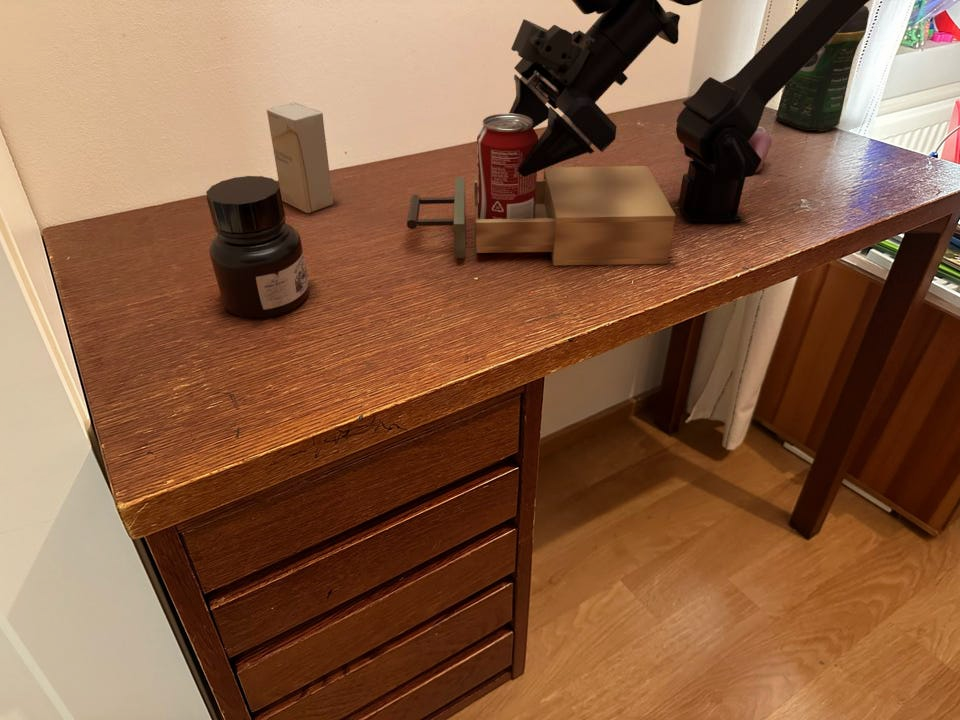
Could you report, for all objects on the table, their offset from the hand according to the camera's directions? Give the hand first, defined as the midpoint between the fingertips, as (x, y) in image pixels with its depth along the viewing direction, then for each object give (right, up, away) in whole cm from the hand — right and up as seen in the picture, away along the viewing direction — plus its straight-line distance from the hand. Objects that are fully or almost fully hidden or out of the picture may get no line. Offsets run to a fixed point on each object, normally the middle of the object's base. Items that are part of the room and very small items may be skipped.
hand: (508, 158), depth 78 cm
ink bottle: (-26, -16, -5) cm, 31 cm away
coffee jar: (+51, +17, +38) cm, 66 cm away
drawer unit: (+11, -8, +6) cm, 15 cm away
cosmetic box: (-26, -2, +15) cm, 30 cm away
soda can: (0, -6, +5) cm, 8 cm away
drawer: (-3, -7, +5) cm, 9 cm away
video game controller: (+34, +6, +25) cm, 42 cm away
